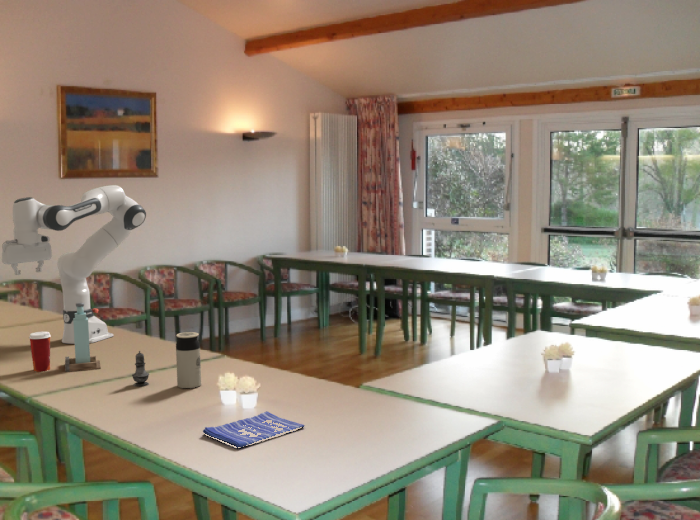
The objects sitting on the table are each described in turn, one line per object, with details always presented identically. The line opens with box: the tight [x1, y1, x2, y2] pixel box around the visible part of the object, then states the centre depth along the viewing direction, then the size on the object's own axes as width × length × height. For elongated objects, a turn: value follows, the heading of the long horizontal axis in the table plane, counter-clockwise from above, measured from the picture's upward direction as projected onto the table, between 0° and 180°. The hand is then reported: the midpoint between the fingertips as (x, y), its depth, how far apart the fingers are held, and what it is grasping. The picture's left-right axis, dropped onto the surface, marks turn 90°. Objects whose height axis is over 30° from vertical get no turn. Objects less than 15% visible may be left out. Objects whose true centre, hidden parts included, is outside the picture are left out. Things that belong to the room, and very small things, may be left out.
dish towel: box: [202, 411, 306, 448], centre depth 209 cm, size 17×24×3 cm
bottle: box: [73, 303, 91, 364], centre depth 284 cm, size 5×5×24 cm
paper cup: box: [28, 331, 52, 373], centre depth 280 cm, size 8×8×14 cm
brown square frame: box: [64, 355, 101, 373], centre depth 285 cm, size 12×12×3 cm
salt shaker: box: [131, 350, 150, 388], centre depth 259 cm, size 6×6×12 cm
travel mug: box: [175, 331, 202, 389], centre depth 256 cm, size 8×8×18 cm
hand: (28, 273), depth 298 cm, fingers open, 8 cm apart
